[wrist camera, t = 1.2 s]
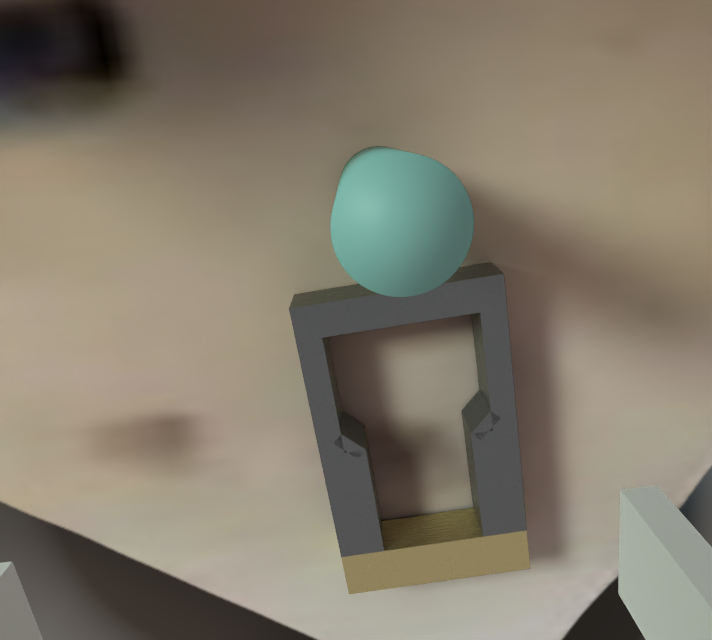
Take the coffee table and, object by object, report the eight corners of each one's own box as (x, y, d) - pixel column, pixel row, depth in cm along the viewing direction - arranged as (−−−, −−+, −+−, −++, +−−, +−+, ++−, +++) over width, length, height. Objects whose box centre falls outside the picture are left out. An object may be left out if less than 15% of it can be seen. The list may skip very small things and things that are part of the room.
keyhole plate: (294, 294, 35) (289, 308, 32) (490, 262, 34) (504, 273, 31) (349, 562, 41) (349, 594, 38) (517, 537, 40) (530, 568, 37)
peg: (333, 153, 32) (318, 166, 17) (410, 140, 32) (466, 141, 17) (346, 230, 33) (343, 307, 18) (420, 218, 33) (480, 284, 18)
